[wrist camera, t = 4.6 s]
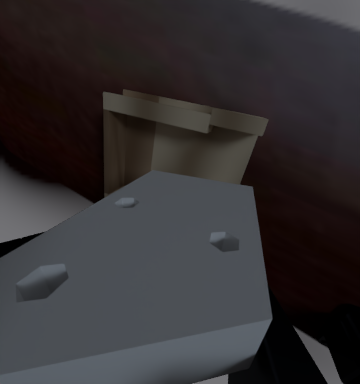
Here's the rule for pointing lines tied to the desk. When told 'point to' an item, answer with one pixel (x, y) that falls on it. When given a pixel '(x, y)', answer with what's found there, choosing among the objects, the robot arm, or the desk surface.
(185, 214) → the white wedge bracket
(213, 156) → the slotted track
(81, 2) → the desk surface
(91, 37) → the desk surface
